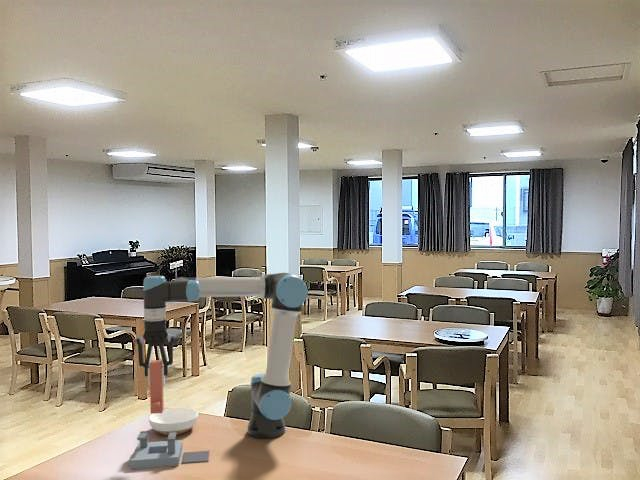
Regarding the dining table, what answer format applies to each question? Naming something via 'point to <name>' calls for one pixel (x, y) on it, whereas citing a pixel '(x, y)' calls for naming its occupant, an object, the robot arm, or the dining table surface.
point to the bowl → (173, 420)
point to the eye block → (156, 452)
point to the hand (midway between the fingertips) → (156, 384)
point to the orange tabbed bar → (156, 387)
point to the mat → (195, 457)
